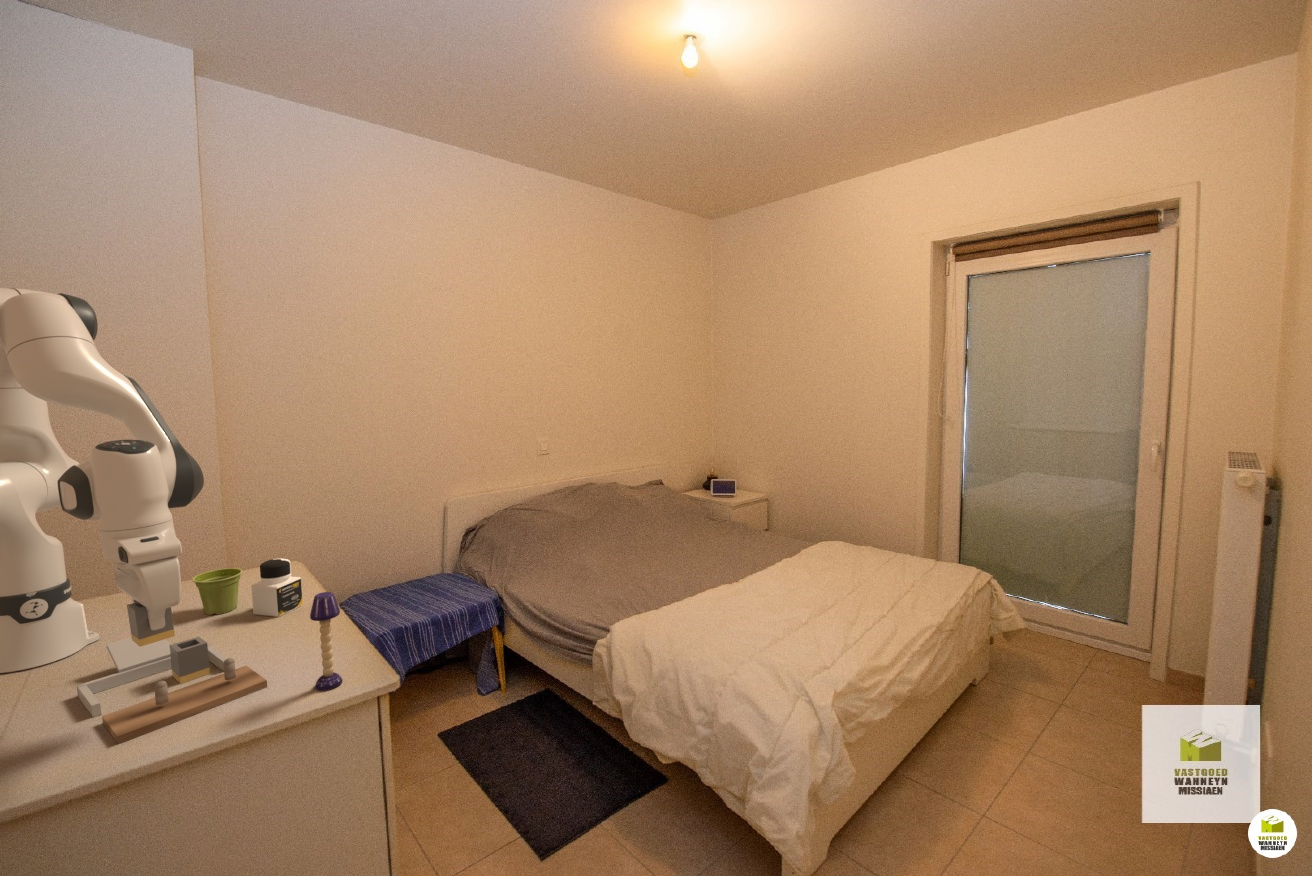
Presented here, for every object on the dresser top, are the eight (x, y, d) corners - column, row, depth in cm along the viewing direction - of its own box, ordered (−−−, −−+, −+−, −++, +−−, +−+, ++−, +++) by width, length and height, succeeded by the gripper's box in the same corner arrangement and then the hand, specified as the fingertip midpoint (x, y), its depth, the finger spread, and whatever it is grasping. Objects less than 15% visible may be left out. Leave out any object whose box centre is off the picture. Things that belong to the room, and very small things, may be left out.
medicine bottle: (278, 617, 134) (275, 566, 132) (252, 614, 135) (248, 564, 134) (303, 605, 141) (300, 557, 139) (278, 603, 142) (274, 555, 141)
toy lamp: (310, 683, 105) (304, 594, 103) (338, 674, 108) (333, 587, 107) (320, 693, 102) (314, 601, 100) (348, 683, 105) (343, 594, 103)
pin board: (102, 723, 93) (99, 689, 92) (246, 671, 109) (244, 643, 109) (118, 743, 88) (114, 708, 87) (267, 686, 104) (265, 656, 103)
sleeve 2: (172, 676, 108) (169, 645, 107) (201, 666, 111) (198, 636, 110) (180, 683, 105) (177, 651, 104) (209, 673, 109) (207, 642, 108)
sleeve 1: (132, 640, 95) (126, 604, 94) (166, 629, 98) (161, 595, 98) (140, 646, 92) (134, 610, 91) (174, 635, 96) (169, 600, 95)
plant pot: (207, 621, 131) (204, 584, 130) (187, 613, 136) (184, 577, 135) (252, 607, 139) (250, 572, 139) (233, 599, 144) (230, 565, 143)
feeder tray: (68, 683, 105) (64, 654, 105) (196, 643, 120) (194, 619, 120) (93, 717, 95) (89, 685, 94) (230, 669, 110) (228, 642, 109)
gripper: (96, 537, 97) (108, 617, 98) (131, 556, 85) (145, 647, 86) (145, 528, 102) (156, 604, 103) (185, 545, 90) (196, 630, 92)
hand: (151, 624), depth 95 cm, fingers closed on sleeve 1, 4 cm apart
